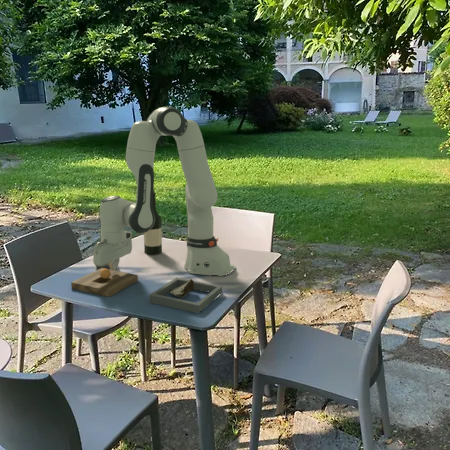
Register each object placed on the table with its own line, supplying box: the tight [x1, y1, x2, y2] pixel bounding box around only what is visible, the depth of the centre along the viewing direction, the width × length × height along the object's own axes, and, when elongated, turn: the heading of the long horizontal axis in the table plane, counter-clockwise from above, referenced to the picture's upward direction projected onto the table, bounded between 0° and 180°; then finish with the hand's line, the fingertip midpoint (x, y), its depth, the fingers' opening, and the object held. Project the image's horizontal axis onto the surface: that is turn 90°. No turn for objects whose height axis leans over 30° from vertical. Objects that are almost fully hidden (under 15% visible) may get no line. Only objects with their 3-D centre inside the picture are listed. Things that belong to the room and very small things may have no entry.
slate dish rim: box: [148, 277, 223, 314], centre depth 165 cm, size 20×19×3 cm
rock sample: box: [168, 278, 194, 299], centre depth 167 cm, size 10×8×9 cm
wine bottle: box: [143, 191, 163, 256], centre depth 213 cm, size 8×8×30 cm
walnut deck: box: [70, 268, 139, 298], centre depth 176 cm, size 18×18×2 cm
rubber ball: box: [100, 267, 111, 279], centre depth 175 cm, size 4×4×4 cm
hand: (113, 269), depth 180 cm, fingers closed
